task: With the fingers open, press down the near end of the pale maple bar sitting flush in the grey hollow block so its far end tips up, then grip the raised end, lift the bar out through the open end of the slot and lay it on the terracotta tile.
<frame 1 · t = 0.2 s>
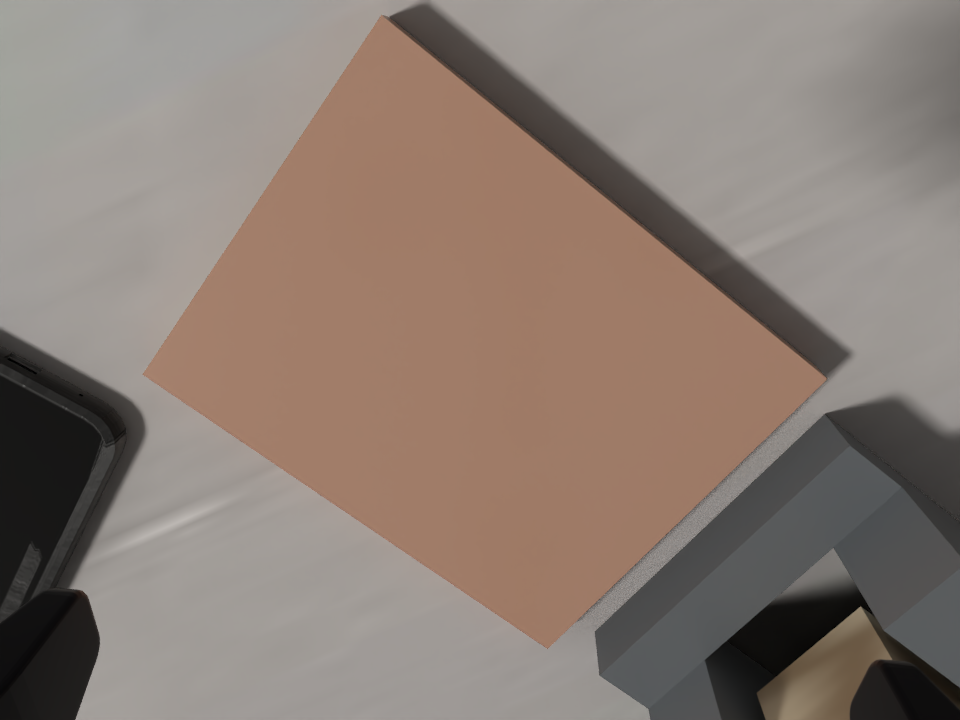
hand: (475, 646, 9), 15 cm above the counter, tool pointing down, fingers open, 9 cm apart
terracotta tile: (478, 363, 24), on the counter
grey hollow block: (909, 683, 27), on the counter
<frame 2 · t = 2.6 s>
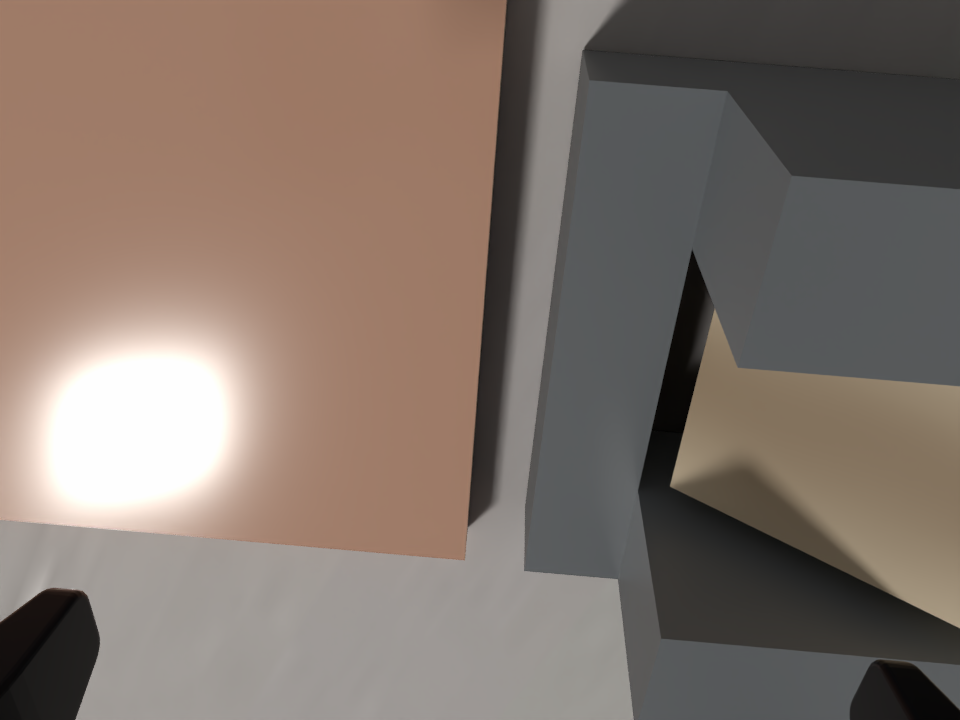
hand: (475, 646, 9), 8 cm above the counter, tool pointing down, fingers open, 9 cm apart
terracotta tile: (112, 280, 16), on the counter
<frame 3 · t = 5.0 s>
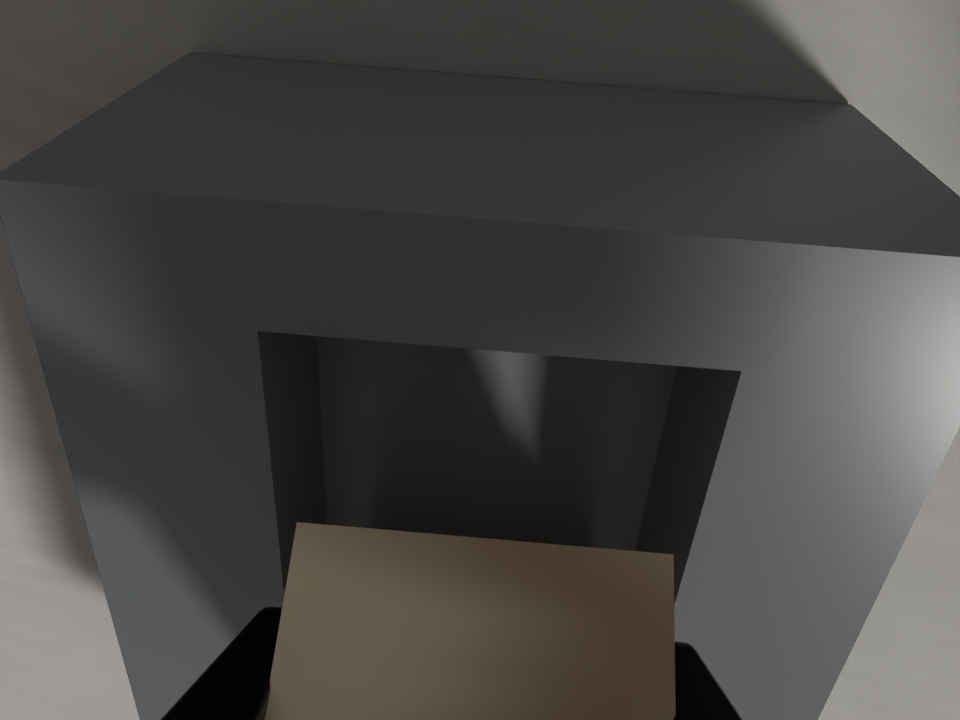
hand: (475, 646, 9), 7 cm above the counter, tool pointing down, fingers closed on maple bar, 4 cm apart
maple bar: (475, 605, 14), point 3 cm above the counter, tilted 34°, touching gripper, grey hollow block
grey hollow block: (484, 474, 17), on the counter
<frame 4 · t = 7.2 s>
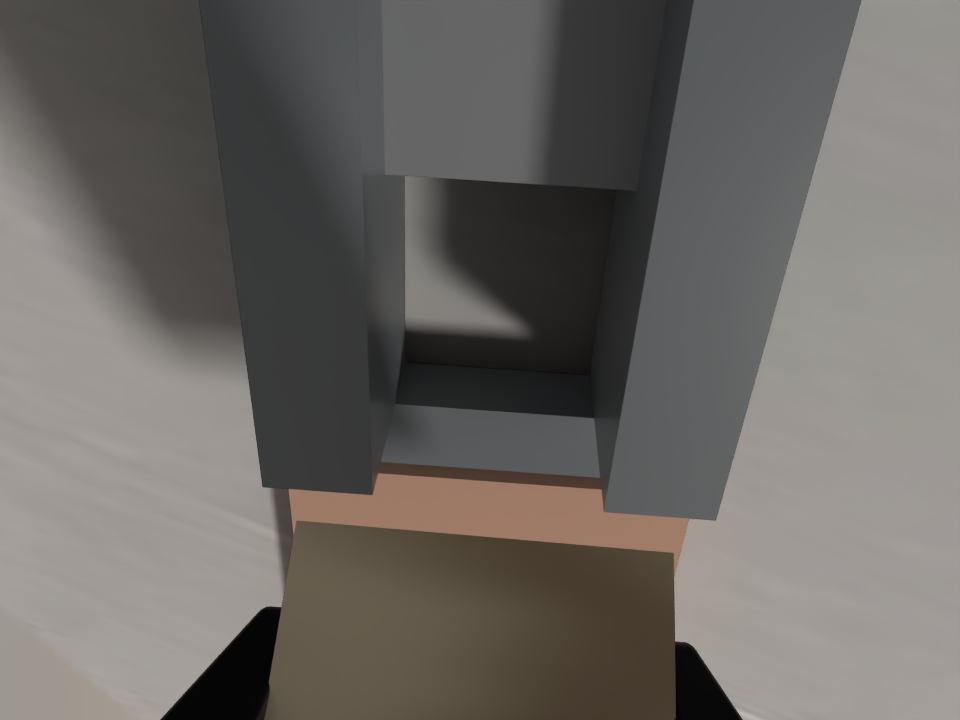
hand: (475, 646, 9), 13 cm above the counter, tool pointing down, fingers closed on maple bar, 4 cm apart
terracotta tile: (479, 623, 29), on the counter
maple bar: (475, 604, 14), point 10 cm above the counter, tilted 34°, touching gripper
grey hollow block: (515, 111, 19), on the counter
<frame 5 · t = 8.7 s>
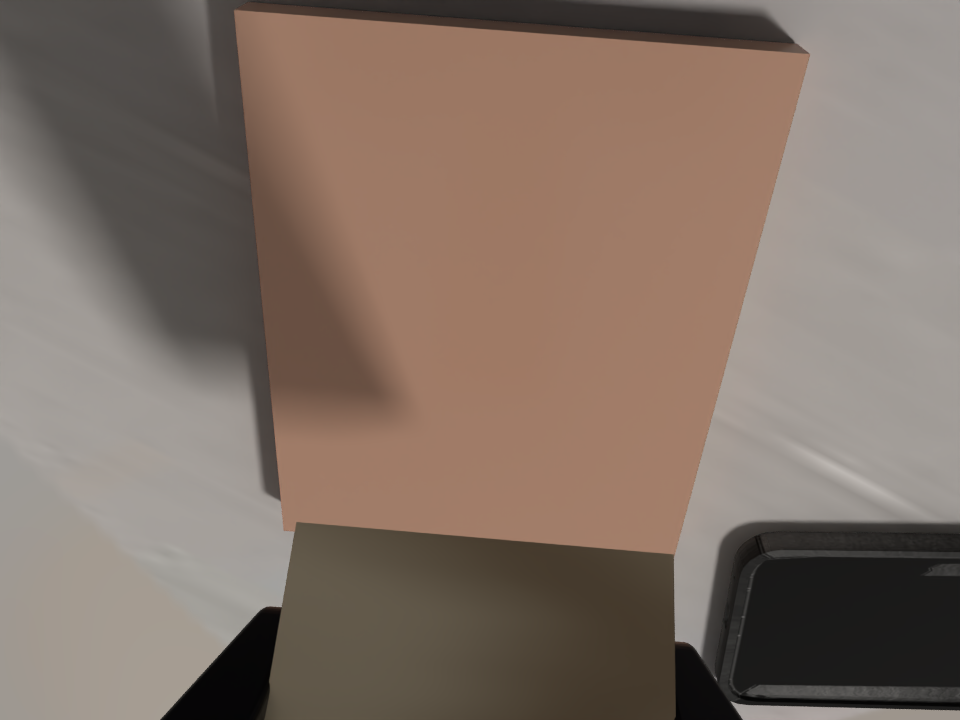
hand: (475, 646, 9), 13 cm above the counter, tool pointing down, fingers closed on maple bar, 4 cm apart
terracotta tile: (496, 320, 22), on the counter
maple bar: (475, 605, 14), point 9 cm above the counter, tilted 34°, touching gripper
phone: (946, 604, 28), on the counter
when the fingers open (9 cm above the counter, at t = 9.7 s): maple bar drops 5 cm, resting on terracotta tile.
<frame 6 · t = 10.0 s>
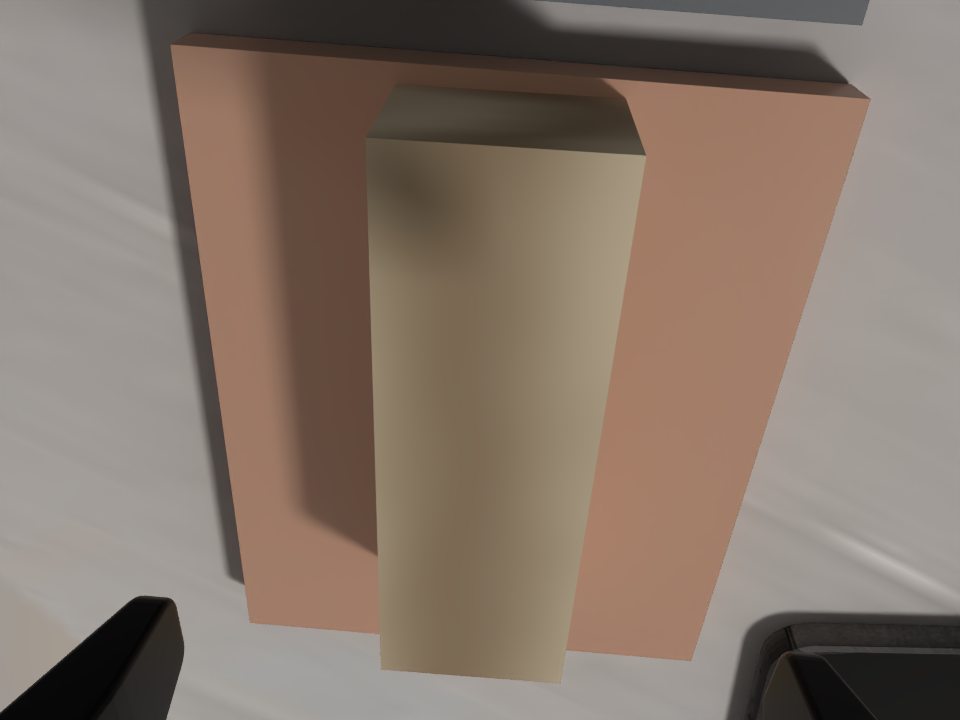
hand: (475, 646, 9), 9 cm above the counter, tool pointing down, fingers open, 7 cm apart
terracotta tile: (490, 395, 19), on the counter
maple bar: (491, 377, 17), point 1 cm above the counter, touching terracotta tile
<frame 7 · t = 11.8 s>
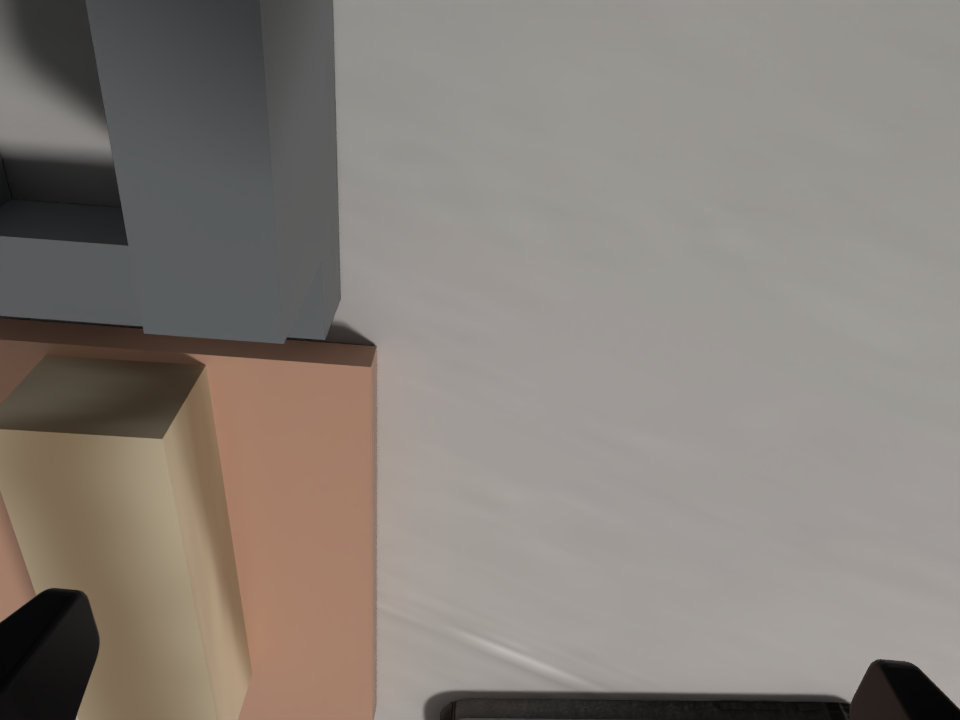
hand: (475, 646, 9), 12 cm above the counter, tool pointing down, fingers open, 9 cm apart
terracotta tile: (180, 540, 25), on the counter
maple bar: (162, 536, 23), point 1 cm above the counter, touching terracotta tile
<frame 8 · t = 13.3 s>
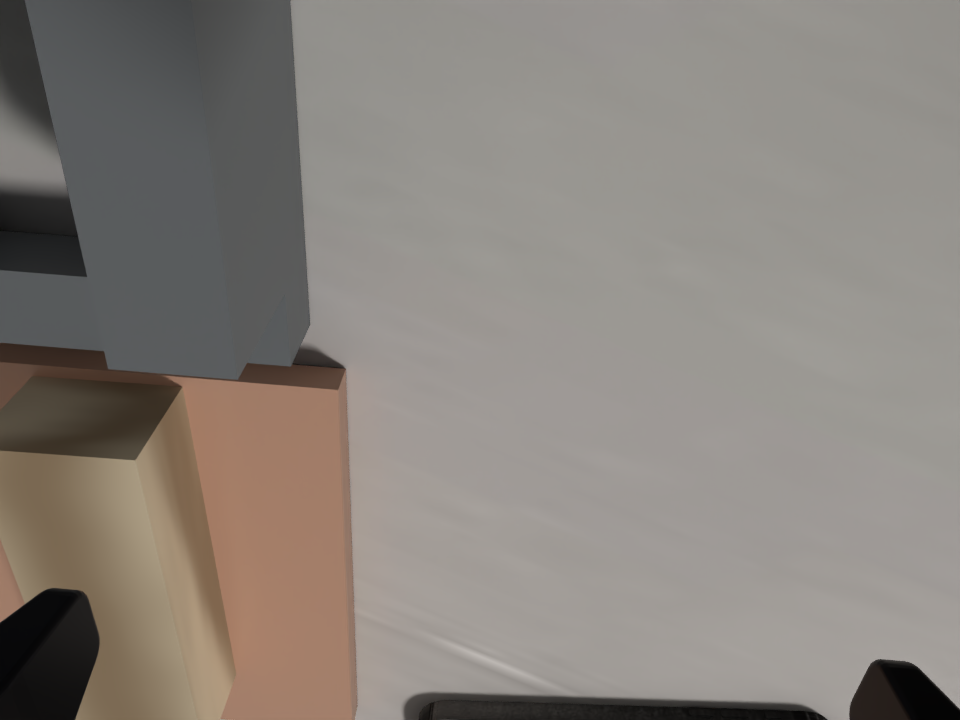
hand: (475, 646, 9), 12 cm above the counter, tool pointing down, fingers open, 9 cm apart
terracotta tile: (166, 547, 26), on the counter
maple bar: (147, 544, 25), point 1 cm above the counter, touching terracotta tile
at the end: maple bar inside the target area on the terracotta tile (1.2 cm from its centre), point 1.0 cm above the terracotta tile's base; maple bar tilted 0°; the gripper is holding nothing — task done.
